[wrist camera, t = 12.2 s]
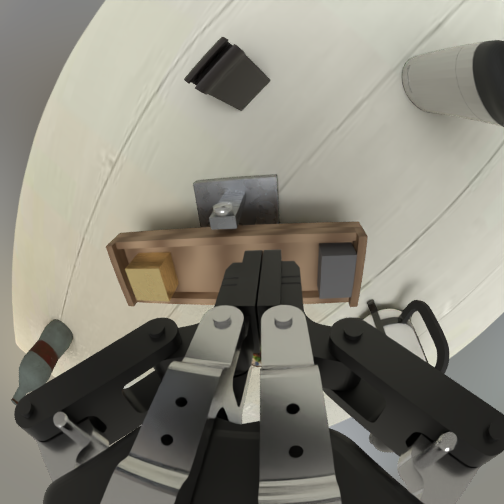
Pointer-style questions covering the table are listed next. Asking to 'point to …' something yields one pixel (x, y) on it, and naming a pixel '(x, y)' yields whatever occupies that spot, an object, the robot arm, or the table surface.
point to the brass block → (152, 276)
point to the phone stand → (227, 75)
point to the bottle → (42, 358)
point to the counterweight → (336, 270)
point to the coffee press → (408, 337)
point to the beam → (236, 255)
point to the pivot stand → (237, 201)
